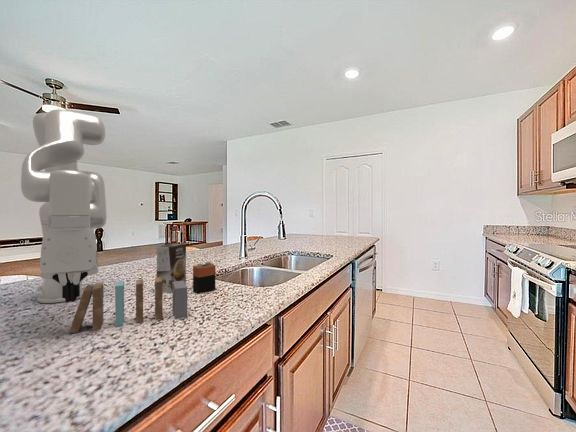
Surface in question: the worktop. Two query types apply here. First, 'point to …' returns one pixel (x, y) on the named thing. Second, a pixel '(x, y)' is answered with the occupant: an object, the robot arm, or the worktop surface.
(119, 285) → the domino
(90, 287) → the domino
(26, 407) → the worktop surface
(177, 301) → the block
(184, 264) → the coffee box
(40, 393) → the worktop surface
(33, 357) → the worktop surface
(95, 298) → the domino
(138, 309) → the domino
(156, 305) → the domino
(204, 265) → the battery
